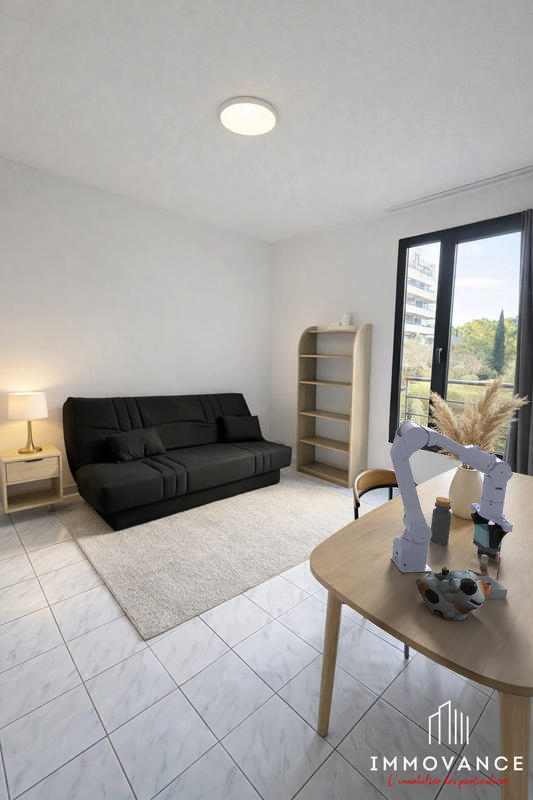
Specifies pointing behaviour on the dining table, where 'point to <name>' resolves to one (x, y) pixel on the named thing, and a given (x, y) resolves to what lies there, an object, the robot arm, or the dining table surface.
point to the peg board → (489, 567)
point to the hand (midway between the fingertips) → (486, 542)
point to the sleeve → (483, 538)
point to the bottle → (441, 521)
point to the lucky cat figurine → (453, 593)
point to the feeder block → (494, 588)
